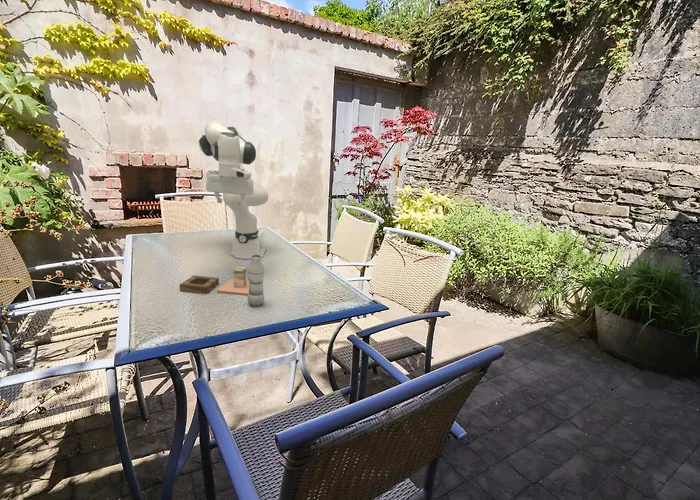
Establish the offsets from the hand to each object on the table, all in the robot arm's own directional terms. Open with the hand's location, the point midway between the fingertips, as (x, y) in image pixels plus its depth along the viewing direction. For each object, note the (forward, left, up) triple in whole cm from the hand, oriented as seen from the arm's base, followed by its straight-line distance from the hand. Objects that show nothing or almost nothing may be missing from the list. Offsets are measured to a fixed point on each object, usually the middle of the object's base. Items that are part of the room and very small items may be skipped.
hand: (230, 203), depth 155 cm
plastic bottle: (+24, +20, -35) cm, 47 cm away
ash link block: (+10, +8, -34) cm, 36 cm away
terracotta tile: (+10, +8, -35) cm, 37 cm away
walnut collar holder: (+14, -8, -35) cm, 39 cm away
